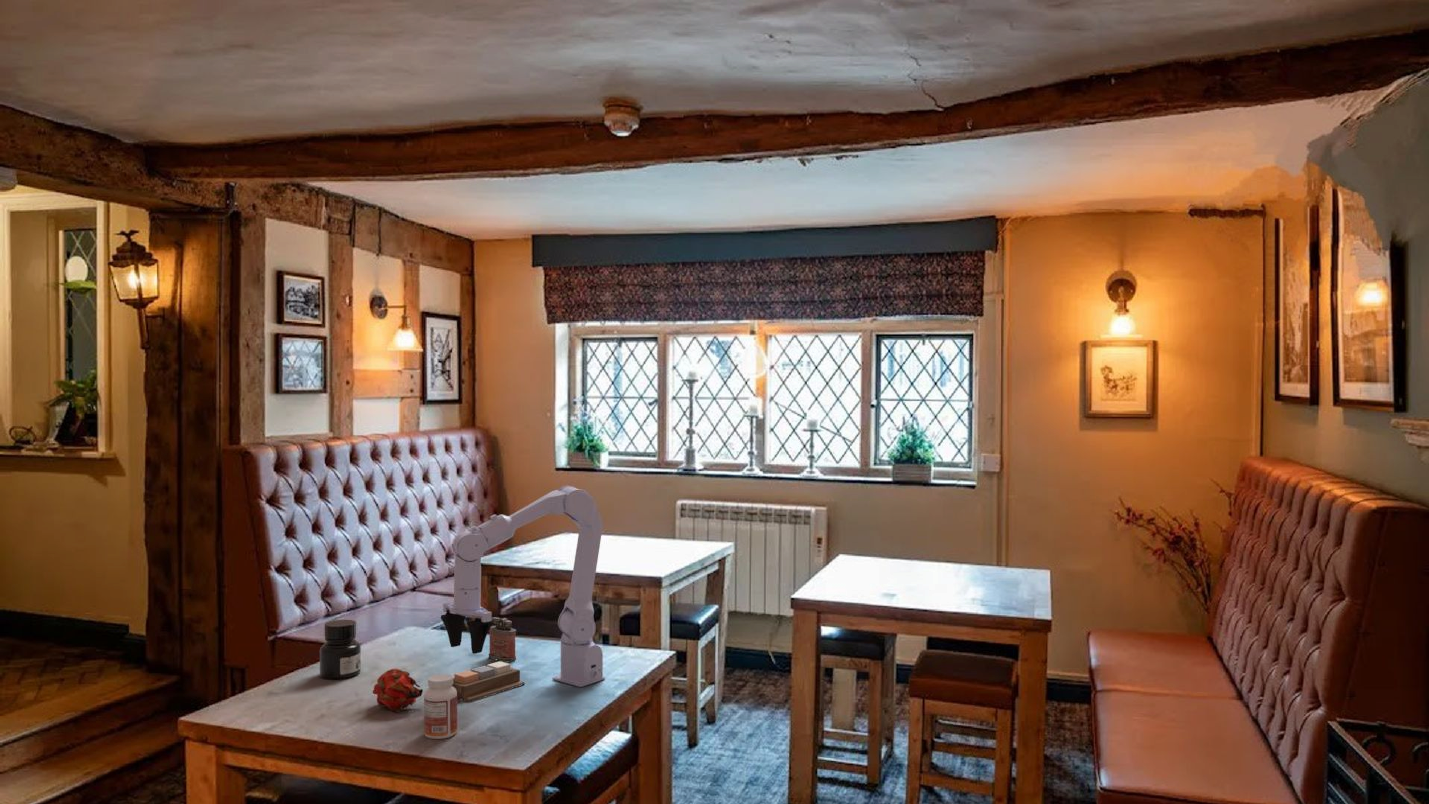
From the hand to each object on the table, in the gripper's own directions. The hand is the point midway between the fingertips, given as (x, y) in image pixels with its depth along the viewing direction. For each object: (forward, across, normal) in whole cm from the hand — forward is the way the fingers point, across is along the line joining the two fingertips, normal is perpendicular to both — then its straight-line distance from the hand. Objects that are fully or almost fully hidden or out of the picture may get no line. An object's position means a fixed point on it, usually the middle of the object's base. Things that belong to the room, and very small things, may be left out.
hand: (466, 649), depth 215 cm
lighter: (+10, -15, +22) cm, 28 cm away
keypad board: (+10, 0, +4) cm, 11 cm away
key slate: (+8, 0, +4) cm, 9 cm away
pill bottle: (+10, +17, -18) cm, 27 cm away
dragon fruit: (+10, -3, -15) cm, 18 cm away
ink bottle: (+10, -33, -10) cm, 36 cm away
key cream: (+8, 0, +9) cm, 12 cm away
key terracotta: (+8, 0, 0) cm, 8 cm away
